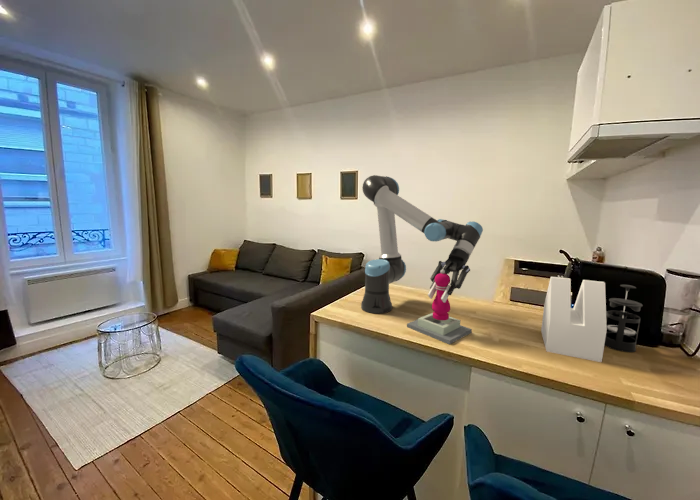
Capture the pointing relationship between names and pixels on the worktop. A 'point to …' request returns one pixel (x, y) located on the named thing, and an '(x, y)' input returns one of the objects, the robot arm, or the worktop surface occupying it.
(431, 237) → the robot arm
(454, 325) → the socket board
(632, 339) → the french press
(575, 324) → the white notched cradle block
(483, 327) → the worktop surface
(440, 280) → the pepper mill
